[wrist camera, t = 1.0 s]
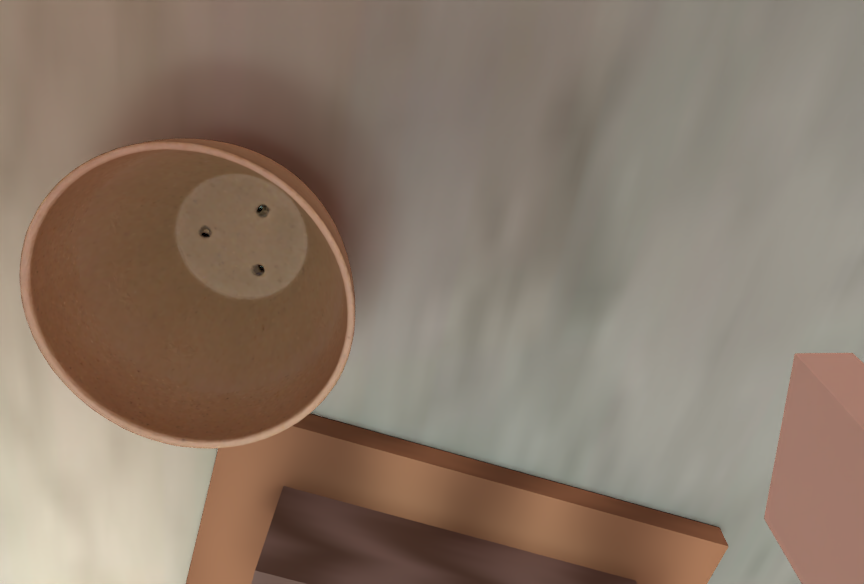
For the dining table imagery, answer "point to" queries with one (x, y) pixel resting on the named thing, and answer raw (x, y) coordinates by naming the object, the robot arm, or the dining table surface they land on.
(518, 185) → the dining table surface
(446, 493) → the cup cradle
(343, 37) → the dining table surface
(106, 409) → the flower pot
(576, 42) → the dining table surface
